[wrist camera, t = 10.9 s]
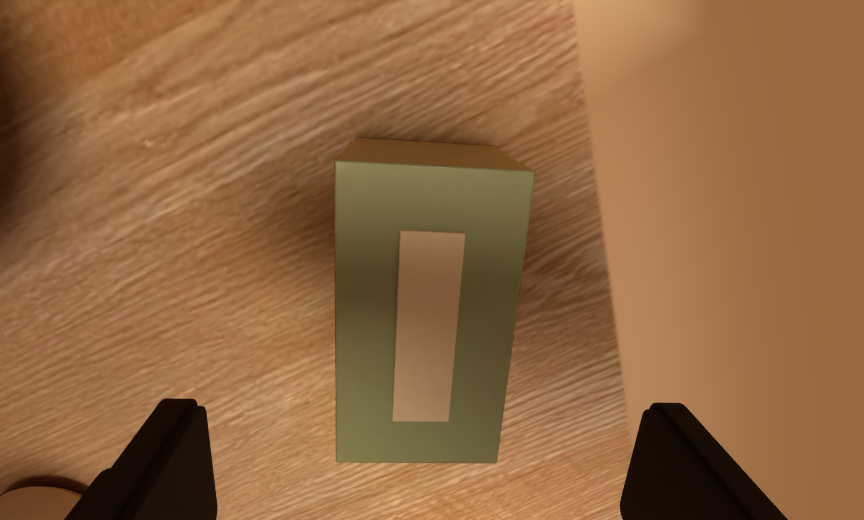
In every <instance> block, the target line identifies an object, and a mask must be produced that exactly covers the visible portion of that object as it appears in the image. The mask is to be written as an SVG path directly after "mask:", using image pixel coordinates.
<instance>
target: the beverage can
mask: <svg viewBox="0 0 864 520" xmlns="http://www.w3.org/2000/svg"><path fill="white" fill-rule="evenodd" d="M81 497H82V495H81V494H79V493H77V492H74V491H71V490H68V489H64V488H58V487H41V486H36V487H25V488H19V489H16V490H12V491H9V492H7V493H5V494H3V495H1V496H0V520H64V519H65V517H66V516H67V515H68V514H69V512H70V511H71V510H72V508H73V507H74V506H75V504H76V503H77V502H78V500H79V499H80V498H81Z"/></svg>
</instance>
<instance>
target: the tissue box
mask: <svg viewBox="0 0 864 520" xmlns="http://www.w3.org/2000/svg"><path fill="white" fill-rule="evenodd" d="M334 179H335V378H336V462H338V463H496V462H497V456H498V449H499V441H500V434H501V427H502V419H503V412H504V404H505V397H506V389H507V382H508V374H509V367H510V360H511V352H512V345H513V337H514V330H515V322H516V315H517V307H518V300H519V292H520V285H521V278H522V270H523V263H524V255H525V248H526V240H527V233H528V225H529V218H530V210H531V203H532V196H533V188H534V181H535V171H534V170H532V169H531V168H529V167H527V166H526V165H524V164H522V163H521V162H519V161H517V160H516V159H514V158H512V157H511V156H509V155H507V154H506V153H504V152H502V151H501V150H499V149H497V148H495V147H494V146H489V145H472V144H454V143H437V142H420V141H403V140H386V139H369V138H356V139H355V140H354V141H353V142H352V143H351V144H350V145H349V146H348V147H347V148H346V149H345V150H344V152H343V153H342V154H341V155H340V156H339V157H338V158H337V159H336V160H335V162H334Z"/></svg>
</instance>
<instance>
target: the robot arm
mask: <svg viewBox="0 0 864 520" xmlns="http://www.w3.org/2000/svg"><path fill="white" fill-rule="evenodd" d="M620 512H621V516H622V519H623V520H788V519H787V518H786V517H785V516H784V515H783V514H782V513H781V512H780V511H779V509H778V508H777V507H776V506H775V505H774V504H773V503H772V502H771V501H770V500H769V499H768V497H767V496H766V495H765V494H764V493H763V492H762V491H761V489H760V488H758V486H757V485H756V484H755V483H754V482H753V481H752V480H751V478H749V476H748V475H747V474H746V473H745V472H744V471H743V470H742V469H741V467H740V466H739V465H738V464H737V463H736V462H735V461H734V460H733V458H732V457H731V456H730V455H729V454H728V453H727V452H726V451H725V450H724V448H723V447H722V446H721V445H720V444H719V443H718V442H717V441H716V440H715V439H714V438H713V436H712V435H711V434H710V433H709V432H708V431H707V430H706V429H705V427H704V426H703V425H702V424H701V423H700V422H699V421H698V420H697V419H696V418H695V416H694V415H693V414H692V413H691V412H690V411H689V410H688V409H687V407H685V406H684V405H683V404H681V403H653V404H652V405H651V406H650V408H649V409H648V410H645V411H644V412H643V415H642V418H641V423H640V426H639V431H638V434H637V438H636V442H635V446H634V450H633V453H632V457H631V461H630V465H629V469H628V473H627V477H626V481H625V485H624V488H623V492H622V496H621V500H620ZM216 516H217V499H216V490H215V482H214V473H213V465H212V457H211V448H210V440H209V431H208V423H207V414H206V409H205V407H203V406H198V405H197V402H196V400H195V399H163V400H162V401H161V402H160V403H159V404H158V405H157V407H156V408H155V409H154V411H153V412H152V413H151V415H150V416H149V417H148V419H147V420H146V422H145V423H144V424H143V426H142V427H141V428H140V430H139V431H138V432H137V434H136V435H135V436H134V438H133V439H132V440H131V442H130V443H129V444H128V446H127V447H126V448H125V450H124V451H123V452H122V454H121V455H120V456H119V458H118V459H117V460H116V462H115V463H114V465H113V466H112V467H111V468H108V469H106V470H104V471H102V472H101V473H100V474H99V475H98V476H97V477H96V478H95V479H94V481H93V482H92V483H91V485H90V486H89V487H88V489H87V490H86V491H85V493H84V494H83V495H82V497H81V498H80V499H79V500H78V502H77V503H76V504H75V506H74V507H73V508H72V510H71V511H70V512H69V514H68V515H67V516H66V517H65V519H64V520H216Z"/></svg>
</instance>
